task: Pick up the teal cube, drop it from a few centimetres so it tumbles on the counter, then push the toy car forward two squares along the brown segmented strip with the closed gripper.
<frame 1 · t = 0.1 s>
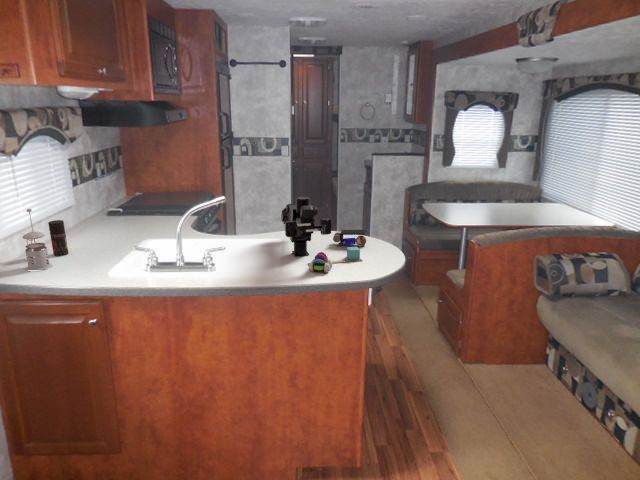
hand: (312, 233, 194), 17 cm above the worktop, tool horizontal, fingers open, 9 cm apart
teal cube: (353, 258, 216), on the worktop
figurine character: (349, 245, 234), on the worktop
toy car: (320, 270, 203), on the worktop
brown segmented strip: (335, 262, 211), on the worktop
french press: (38, 267, 207), on the worktop
deodorant: (61, 254, 223), on the worktop
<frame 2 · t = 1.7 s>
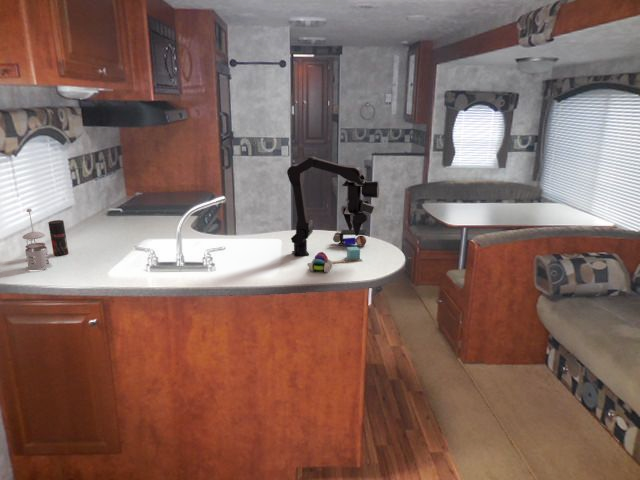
hand: (353, 232, 213), 11 cm above the worktop, tool pointing down, fingers open, 9 cm apart
nothing on the worktop moved.
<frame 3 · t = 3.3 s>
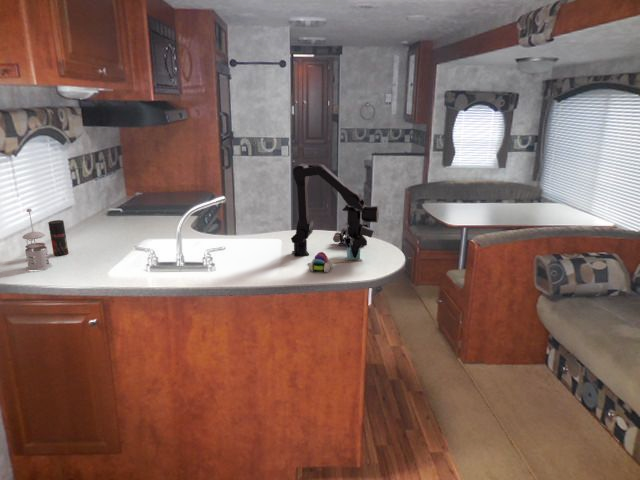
hand: (353, 255, 216), 1 cm above the worktop, tool pointing down, fingers closed on teal cube, 4 cm apart
teal cube: (353, 258, 216), on the worktop, touching gripper
everything else where it was.
when the fingers open (7 cm above the worktop, at t = 5.0 s): teal cube drops 6 cm, on the worktop.
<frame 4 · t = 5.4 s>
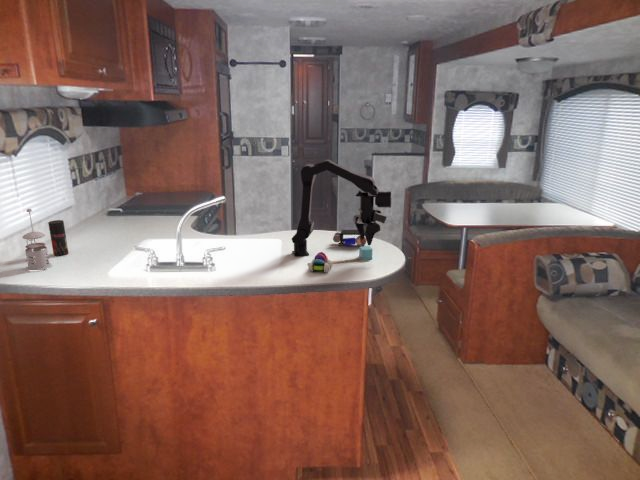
hand: (365, 242, 215), 7 cm above the worktop, tool pointing down, fingers open, 9 cm apart
teal cube: (365, 257, 217), on the worktop
everything else where it was.
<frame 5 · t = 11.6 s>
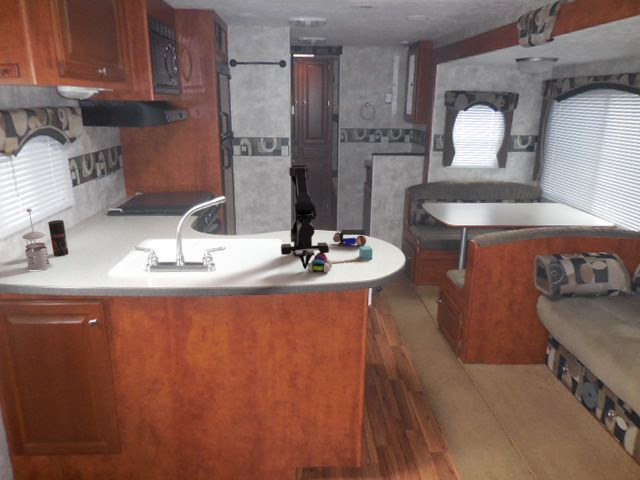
hand: (305, 268, 201), 1 cm above the worktop, tool pointing down, fingers closed
toy car: (320, 270, 202), on the worktop, touching gripper
everything else where it was.
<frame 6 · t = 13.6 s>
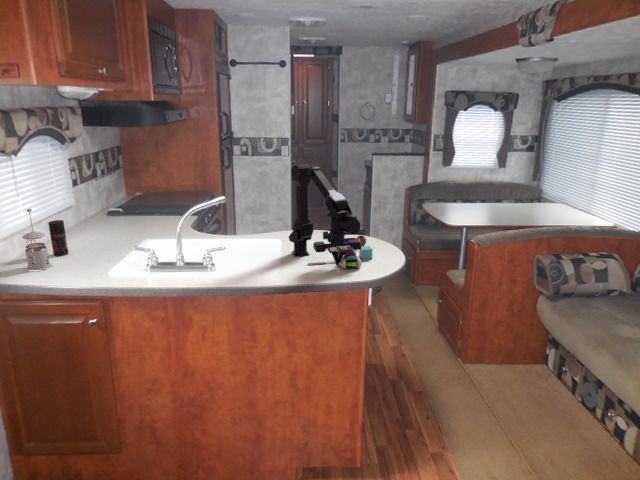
hand: (337, 265, 204), 1 cm above the worktop, tool pointing down, fingers closed
toy car: (350, 266, 206), on the worktop, touching gripper
everything else where it was.
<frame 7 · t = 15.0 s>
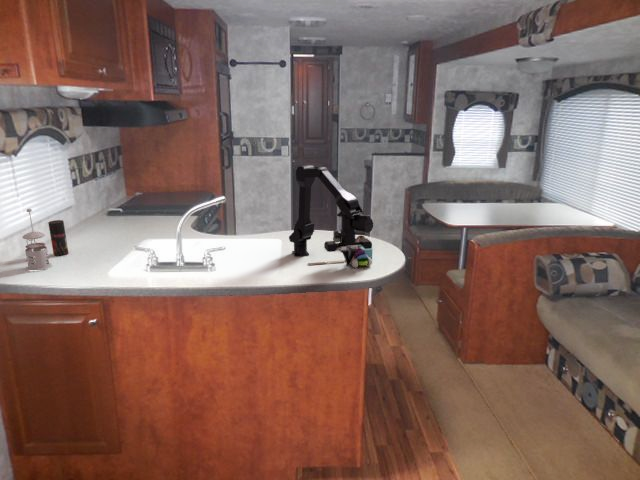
hand: (347, 264, 205), 1 cm above the worktop, tool pointing down, fingers closed
toy car: (360, 265, 208), on the worktop, touching gripper
everything else where it was.
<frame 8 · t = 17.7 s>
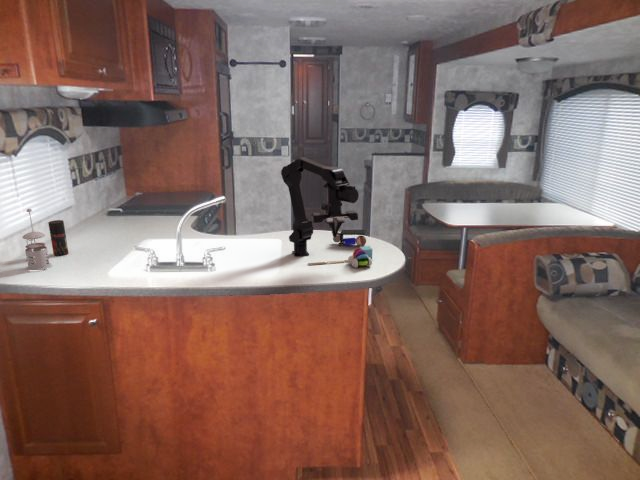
hand: (334, 236, 205), 12 cm above the worktop, tool pointing down, fingers closed
toy car: (360, 265, 208), on the worktop
everything else where it was.
at the end: toy car inside the target area (1.8 cm from its centre), on the worktop; teal cube moved 5.5 cm from its start; teal cube on the worktop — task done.
